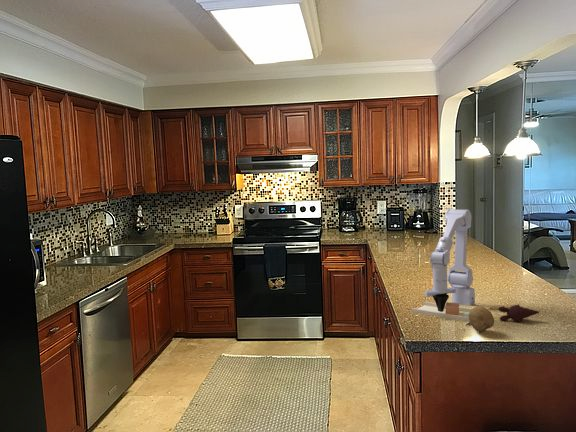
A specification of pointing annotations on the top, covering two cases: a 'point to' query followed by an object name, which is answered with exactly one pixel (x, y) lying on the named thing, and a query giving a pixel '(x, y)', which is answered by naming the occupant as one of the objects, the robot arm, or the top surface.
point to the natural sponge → (481, 318)
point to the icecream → (516, 313)
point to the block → (452, 308)
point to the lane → (433, 310)
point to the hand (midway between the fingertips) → (440, 311)
